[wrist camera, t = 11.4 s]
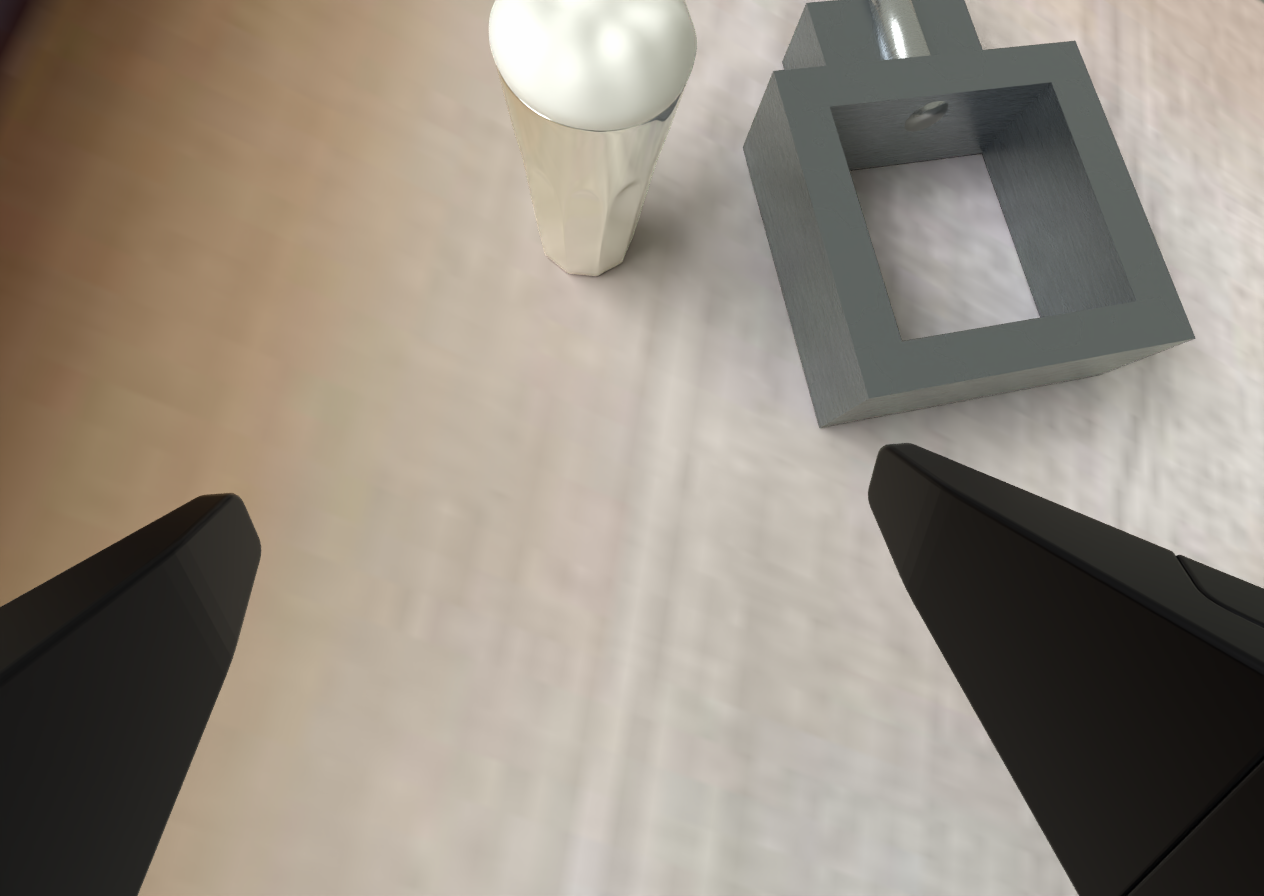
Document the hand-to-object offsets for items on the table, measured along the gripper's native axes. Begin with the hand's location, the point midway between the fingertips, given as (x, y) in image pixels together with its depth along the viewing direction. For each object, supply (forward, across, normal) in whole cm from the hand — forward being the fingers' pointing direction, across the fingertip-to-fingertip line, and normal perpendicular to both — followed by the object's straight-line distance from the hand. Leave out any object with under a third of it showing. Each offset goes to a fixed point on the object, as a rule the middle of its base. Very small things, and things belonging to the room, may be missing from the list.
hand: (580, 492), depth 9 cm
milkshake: (+15, -1, 0) cm, 15 cm away
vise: (+16, -13, -1) cm, 21 cm away
